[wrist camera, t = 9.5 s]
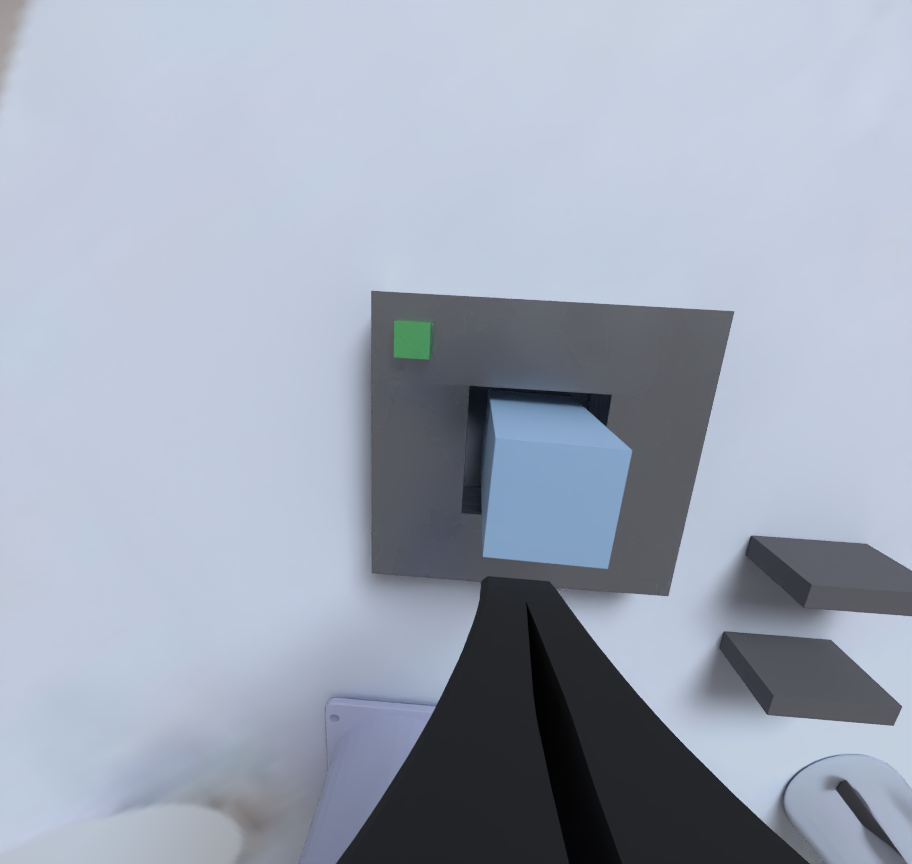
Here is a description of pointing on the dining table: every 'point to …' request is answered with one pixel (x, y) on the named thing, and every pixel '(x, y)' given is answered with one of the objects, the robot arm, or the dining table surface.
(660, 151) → the dining table surface
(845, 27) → the dining table surface
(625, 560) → the port block
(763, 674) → the holster
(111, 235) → the dining table surface
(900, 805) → the beer glass
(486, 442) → the plug
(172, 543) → the dining table surface
